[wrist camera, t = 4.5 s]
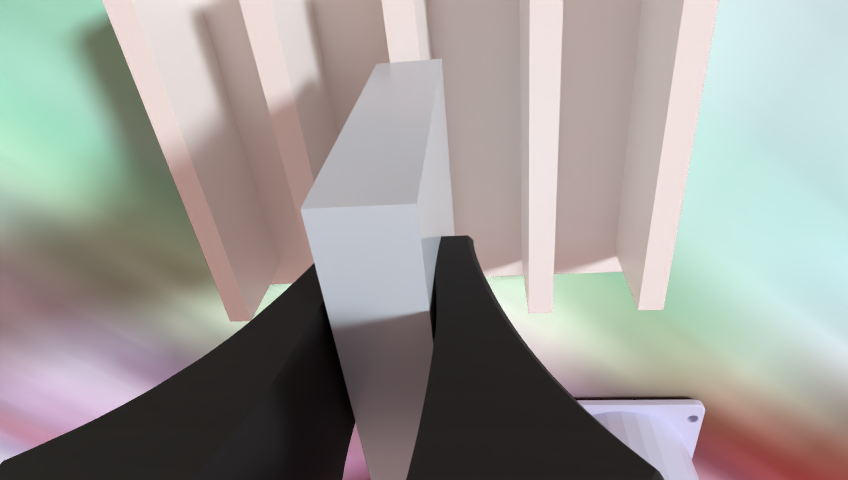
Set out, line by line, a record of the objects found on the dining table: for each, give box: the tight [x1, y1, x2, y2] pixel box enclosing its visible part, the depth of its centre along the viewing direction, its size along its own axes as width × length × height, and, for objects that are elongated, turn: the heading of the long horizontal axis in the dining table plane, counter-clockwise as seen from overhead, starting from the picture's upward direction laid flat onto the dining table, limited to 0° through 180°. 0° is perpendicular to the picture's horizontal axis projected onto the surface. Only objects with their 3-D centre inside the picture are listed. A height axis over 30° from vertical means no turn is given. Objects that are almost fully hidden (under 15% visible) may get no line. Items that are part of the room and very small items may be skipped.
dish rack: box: [102, 0, 719, 321], centre depth 17 cm, size 13×16×4 cm
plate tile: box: [300, 59, 455, 480], centre depth 12 cm, size 7×2×7 cm, turn 5°
